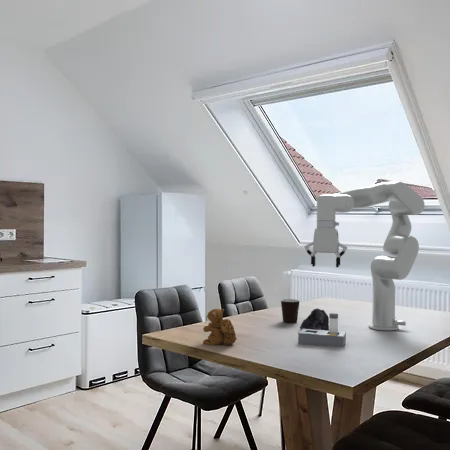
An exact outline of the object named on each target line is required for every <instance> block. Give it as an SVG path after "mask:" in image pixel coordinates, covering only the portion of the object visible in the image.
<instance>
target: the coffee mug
mask: <svg viewBox="0 0 450 450" xmlns="http://www.w3.org/2000/svg"><path fill="white" fill-rule="evenodd" d="M280 304H281V305H280V306H281V314H282V323H284V324H297V323H298V318H299V316H298V315H299V310H300V299H296V298H295V299H294V298H284V299H283V298H282V299H280Z"/></svg>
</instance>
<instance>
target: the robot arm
mask: <svg viewBox="0 0 450 450" xmlns="http://www.w3.org/2000/svg"><path fill="white" fill-rule="evenodd" d="M383 203H388V209H389V212H390V215H391V219H392V224H391V227H390V229H389V231H388V234H387V235H386V238H385V240H384V243H383V246H382V250H383V252H384V254H386V255H380V256H379V255H378V256H376V257H374V258H373V259H372V261H371V262H370V274H371V278H372V317H371V318H372V319H371V320H372V322H371V323H370V322H369V323H368V328H370V329H372V330H378V331H386V332H387V331H397V330H399V326H403V327H404V326H405V327H406V325H407V323H406V322H407V320H401V319H400V320H398V319H397V318H396V286H395V282H394V280H397V281H398V280H399V281H402V280H405V279H406V278H407V277H408V276H409V274H410V272H411V270H412V268H413V266H414V264H415V261H416V258H417V256H418V254H419V250H420V245H419V241H418V240H417V238H416V237H414V236H413V235H410V234H411V232H412V222H411V220H410V217H409V216H417V215H419V214H421V213H423V211H424V210H425V207H426V206H425V201H424V199H423V198H422V196H421V195H420V194H418V193H417V192H416V191H415V190H414V189H412V188H411V187H410V186H408V185H407V184H406V183H404V182H402V181H386V182H380V183H376V184H372V185H369V186H365V187H359V188H355V189H352V190H346V191H341V192H337V193H333V194H320V195H318V196H317V197H316V228H315V229H314V231H313V232H314V233H313V241H312V242H309V243H308V244H306V245H304V248H305V251H306V253H307V254H308V255H309V257H310V265H312V267H315V266H316V256H315V255H316V254H317V253H320V254H321V253H322V254H324V253H326V254H327V253H328V254H331V253H332V254H333V253H334V254H335V255H336V258H335V267H336V268H339V267H340V266H341V257H342V256H343V255H344V254H346V252H347V250H348V246H346V245H344V244H343V243H340V241H339V231H338V228H336V227H337V226H340V222H337V221H336V214H347V213H349V212H352V210H354V209H356V208H357V209H361V208H367V207H372V206H375V205H379V204H383ZM310 247H312V251H311V249H310ZM339 247H340V248H342V251H340V252H339V249H340V248H339Z"/></svg>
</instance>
